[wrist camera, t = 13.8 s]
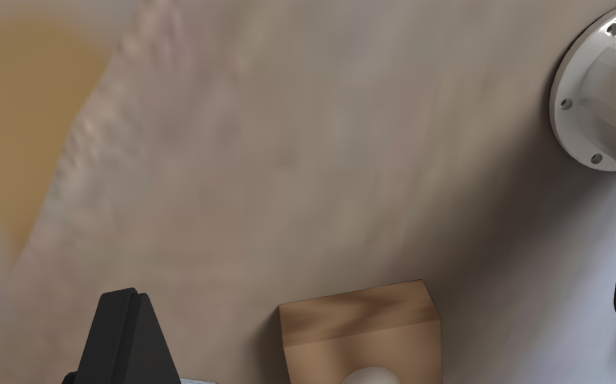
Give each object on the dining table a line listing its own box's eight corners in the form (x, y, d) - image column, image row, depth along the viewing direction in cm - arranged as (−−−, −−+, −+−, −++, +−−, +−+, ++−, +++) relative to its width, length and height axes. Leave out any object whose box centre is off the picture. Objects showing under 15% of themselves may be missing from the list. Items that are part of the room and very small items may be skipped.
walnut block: (421, 279, 47) (440, 319, 43) (426, 381, 53) (443, 426, 49) (278, 304, 47) (283, 348, 42) (299, 405, 53) (305, 452, 48)
